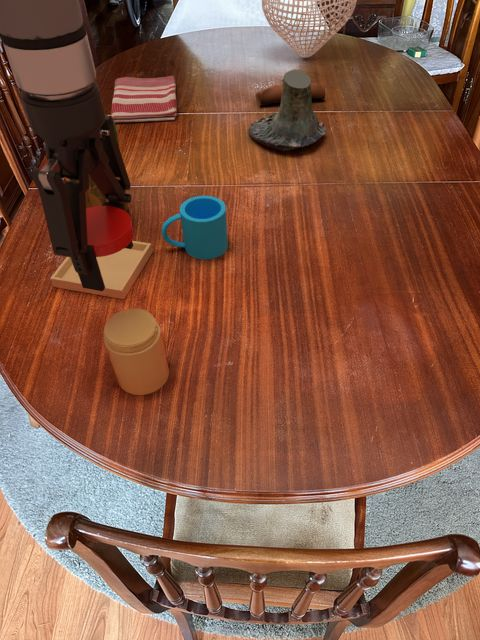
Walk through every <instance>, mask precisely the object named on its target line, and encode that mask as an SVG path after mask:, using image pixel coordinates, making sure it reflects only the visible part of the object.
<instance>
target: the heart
mask: <svg viewBox="0 0 480 640" xmlns="http://www.w3.org/2000/svg"><path fill="white" fill-rule="evenodd" d="M285 1H286V0H283V2H282V1H281V0H261V9H262V12H263V15H264V17H265V19H266V21H267V23H268V25H269V26H270V28H271V29H272V30H273V31H274V32H275V33H276V34H277V36H279V37H280V38H281V39H282V40H283V41H284V43H286V44H287V45H288V46H289V47H290V48H291V50H292V51H294V52H295V54H297V55H298V56H300V57H302V58H310V57H312V56H313V55H315V54H316V53H317V52H318V51H319V50H320V49H321V48H322V47H323V46H325V44H327V42H328V41H329V40H331V38H333V37H334V36H335V35H336V34H337V33H338V32H339V31H340V30H341V29H342V28H343V27H344V26H345V25H346V23H347V22H349V20H350V18H351V17H352V15H353V13H354V11H355V8H356V6H357V0H332V3H331V0H292V3H290V1H291V0H287V3H286V2H285ZM296 2H297V3H296ZM300 2H301V5H300ZM305 2H306V5H305ZM309 2H310V4H309ZM327 2H328V4H327ZM323 3H324V5H322V4H323ZM342 4H343V5H342ZM346 4H347V5H346ZM318 5H319V6H318ZM332 6H333V7H332ZM285 7H286V9H285ZM336 7H338V8H337V9H336ZM290 8H291V10H290ZM295 8H296V11H295ZM300 8H301V11H300ZM328 8H329V9H328ZM304 9H305V11H304ZM309 9H310V10H309ZM275 11H276V13H275ZM299 11H300V12H299ZM279 13H280V14H279ZM284 14H285V15H284ZM289 14H290V17H288V16H289ZM294 15H296V16H295V18H293V17H294ZM327 15H329V17H327ZM299 16H300V17H299ZM323 17H324V18H323ZM322 18H323V19H322ZM288 21H289V22H288ZM316 22H317V23H316ZM318 22H319V23H318ZM321 27H322V28H323V29H321ZM328 27H329V28H328ZM294 28H295V29H294ZM299 28H300V29H299ZM316 28H318V29H316ZM310 33H311V34H310ZM314 33H316V34H314ZM296 34H297V35H296ZM313 37H314V38H313ZM297 38H298V39H297ZM301 38H302V39H301Z"/></svg>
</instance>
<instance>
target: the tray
mask: <svg viewBox="0 0 480 640" xmlns="http://www.w3.org/2000/svg"><path fill="white" fill-rule="evenodd" d="M132 242H133V247H132V249H127V248H124V249H122V250H121V251H119V252H117V253H114V254H111V255H108V256H102V257H96V258H97V262H98V265H99V268H100V272H101V275H102V278H103V282H104V285H105V289H104V290H103V291H97V290H92V289H87V288H83V287H82V284H81V281H80V278H79V275H78V273H77V272H76V271H75V269H74V266H73V263H72V260H71V258H70V257H65V259H64V260H63V261H62V262H61V263H60V264H59V266H58V267H57V269H56V270H55V271H54V273H53V274H52V275H51V276H50V278H49V280H50V282H51V285H52V286H53V288H57V289H64V290H69V291H74V292H81V293H87V294H91V295H98V296H104V297H108V298H112V299H113V298H114V299H119V300H125V299H126V297H127V295H128V294H129V292H130V290H131V289H132V287H133V285H134V284H135V282H136V280H137V279H138V277H139V276H140V274H141V273H142V271H143V269H144V268H145V266H146V264H147V263H148V262H149V259H150V258H151V257H152V254H153V247H152V243H149V242H143V241H137V240H132Z"/></svg>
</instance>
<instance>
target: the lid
mask: <svg viewBox="0 0 480 640" xmlns="http://www.w3.org/2000/svg"><path fill="white" fill-rule="evenodd" d="M130 217H131V215H130V216H129V214H128V213H127V212H125V211H124V210H122V209H120V208H117V207H113V206H94V207H90V208H86V218H87V241H88V245H90V246H93V248H94V252H95V255H96V257H102V256H108V255H111V254H114V253H117V252H119V251H121V250H122V249H124V248H125V247H127V246H128V245H129V244H130V242H131V241H133V239H134V235H135V228H134V224H133V220H132V217H131V218H130Z"/></svg>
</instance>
